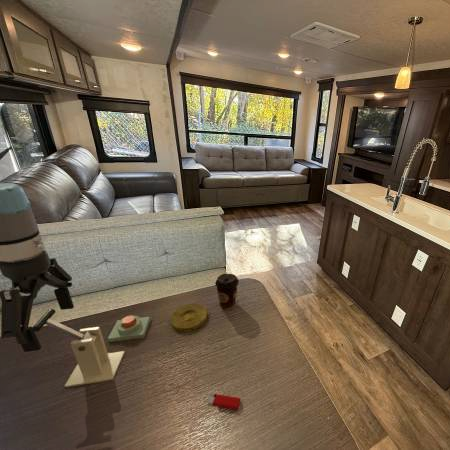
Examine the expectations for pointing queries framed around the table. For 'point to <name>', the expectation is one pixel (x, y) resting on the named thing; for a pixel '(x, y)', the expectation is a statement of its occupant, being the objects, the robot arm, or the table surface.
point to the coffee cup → (227, 290)
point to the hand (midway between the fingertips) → (52, 327)
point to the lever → (60, 327)
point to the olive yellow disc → (188, 317)
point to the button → (128, 321)
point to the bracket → (93, 360)
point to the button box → (129, 330)
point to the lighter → (224, 401)
